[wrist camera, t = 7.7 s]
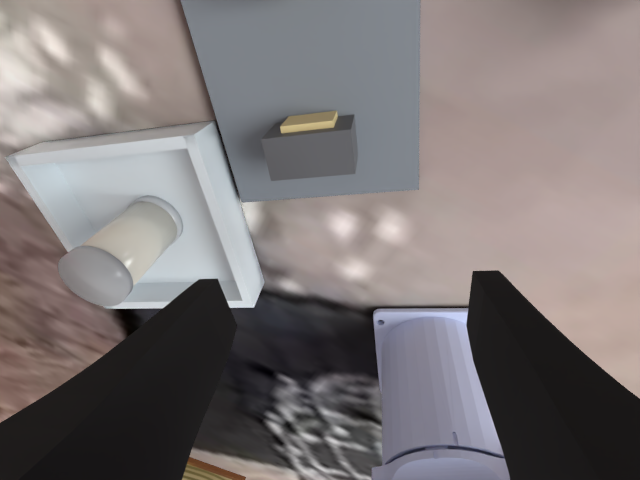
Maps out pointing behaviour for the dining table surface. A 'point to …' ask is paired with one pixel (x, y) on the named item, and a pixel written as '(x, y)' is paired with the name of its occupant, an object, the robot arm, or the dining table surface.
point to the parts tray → (154, 180)
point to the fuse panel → (313, 93)
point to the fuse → (121, 251)
